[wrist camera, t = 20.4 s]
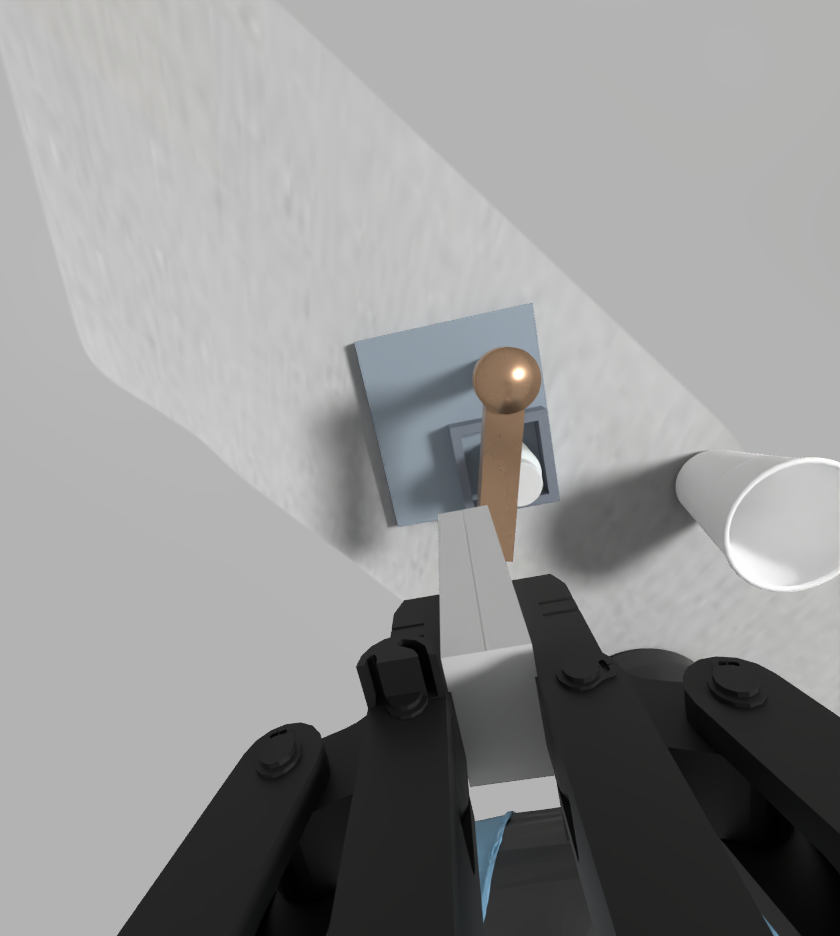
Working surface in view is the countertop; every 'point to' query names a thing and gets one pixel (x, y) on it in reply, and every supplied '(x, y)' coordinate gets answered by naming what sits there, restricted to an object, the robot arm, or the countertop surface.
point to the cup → (767, 515)
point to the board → (445, 410)
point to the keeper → (503, 433)
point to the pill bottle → (529, 478)
